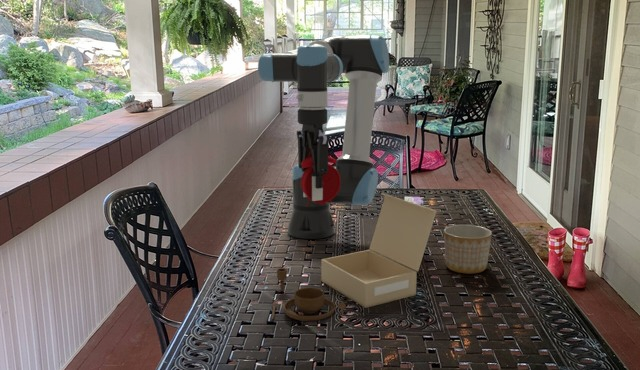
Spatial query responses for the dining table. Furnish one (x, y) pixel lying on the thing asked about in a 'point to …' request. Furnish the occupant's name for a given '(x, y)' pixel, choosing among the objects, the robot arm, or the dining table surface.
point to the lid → (402, 231)
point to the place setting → (305, 301)
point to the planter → (467, 248)
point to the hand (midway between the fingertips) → (312, 198)
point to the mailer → (368, 278)
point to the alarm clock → (329, 180)
